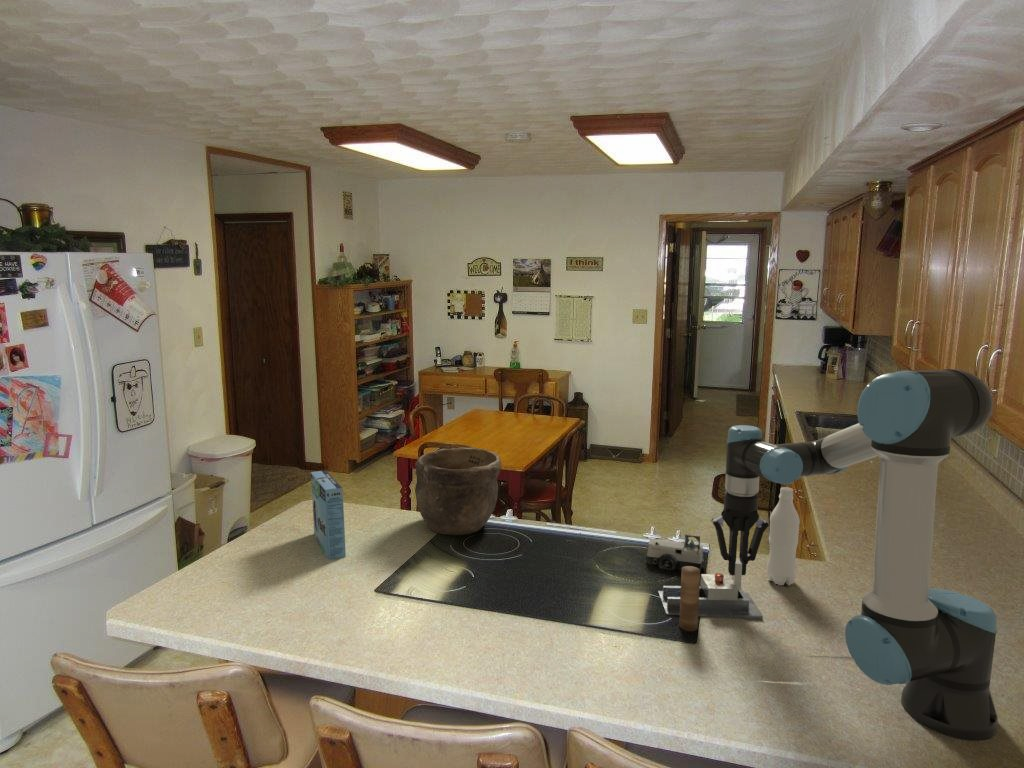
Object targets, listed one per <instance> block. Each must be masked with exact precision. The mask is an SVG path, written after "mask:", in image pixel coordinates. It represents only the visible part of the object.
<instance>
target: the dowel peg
mask: <svg viewBox="0 0 1024 768" xmlns="http://www.w3.org/2000/svg"><path fill="white" fill-rule="evenodd" d="M680 571H681V575H680V576H681V577H680V586H681V594H680V616H679V621H678V622H679V623H678V626H679V628H680V629H682V630H683V631H686V632H695V631H697V630H698V626H699V617H698V606H699V587H700V586H701V585H700V582H701V570H700V569H699V568H697V567H693V566H685V567H682V570H680Z"/></svg>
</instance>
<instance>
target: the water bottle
mask: <svg viewBox="0 0 1024 768" xmlns="http://www.w3.org/2000/svg"><path fill="white" fill-rule="evenodd" d="M779 490H780V491H779V492H780V493H779V495H778V498H779V500H778V502H777V504H776V506H775V507H774V509H773V510H772V511H771V513H770V516H769V536H768V543H769V556H768V560H767V564H766V575H767V579H768V580H770V581H773V582H774V585H776V584H778V585H777V586H779V585H783V586H784V585H787V584H788V585H787V586H791V584H792V585H793V583H794V582H795V580H796V578H797V563H796V561H797V560H796V557H797V556H796V555H797V548H798V544H799V533H800V532H799V531H800V530H799V529H800V524H801V523H800V522H801V520H800V516H799V514H798V511H797V509H796V507H795V505H794V502H793V500H795V499H794V489H793V488H792V487H786V486H781V487H780V489H779ZM770 581H769V582H770Z"/></svg>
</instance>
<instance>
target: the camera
mask: <svg viewBox="0 0 1024 768" xmlns="http://www.w3.org/2000/svg"><path fill="white" fill-rule="evenodd" d="M689 538H695V539H696V540H697V542H698V544H697V543H696V544H695V542H694V541H693V539H691V540H690V539H689ZM689 542H690V543H689ZM646 549H647V550H646V557H645V559H646V561H647V565H650V566H651V565H652V566H656V567H657V566H658V567H659V569H662V570H663V569H664V570H668V571H673V572H675V570H677V571H682V567H685V566H693V567H697V568H699V569H700V571H701V570H702V567H703V562H704V561H705V559H704V548H703V545H702V544H701V535H699V534H690V533H685V534H684V542H681V541H674V540H673V541H672V540H666V539H658V538H650V540H649V541H648V543H647V547H646Z"/></svg>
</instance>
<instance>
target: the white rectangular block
mask: <svg viewBox="0 0 1024 768" xmlns="http://www.w3.org/2000/svg"><path fill="white" fill-rule="evenodd" d="M699 586H700V587H702V589H703V591H704V593H705V595H706V597H707V599H708V600H738V588H737V586H736V585H735V583H734V582H733V580H732V576H731V575H730V574H723V573H719V572H718V573H715V574H714V573H713V574H712V573H700V585H699Z"/></svg>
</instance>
